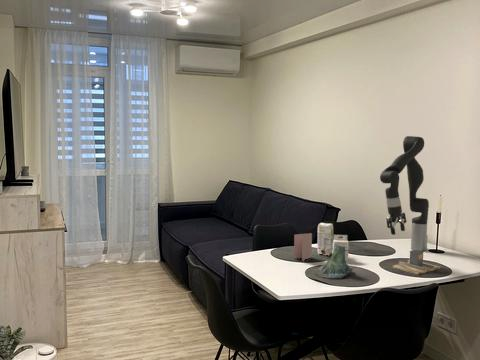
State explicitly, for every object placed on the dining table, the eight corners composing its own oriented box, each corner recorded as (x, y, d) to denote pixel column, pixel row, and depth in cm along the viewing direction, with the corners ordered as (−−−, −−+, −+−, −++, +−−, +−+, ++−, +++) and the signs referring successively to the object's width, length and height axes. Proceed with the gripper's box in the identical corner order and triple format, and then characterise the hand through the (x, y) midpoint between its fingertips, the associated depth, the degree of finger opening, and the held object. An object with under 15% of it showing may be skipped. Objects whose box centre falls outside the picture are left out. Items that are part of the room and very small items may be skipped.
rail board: (415, 261, 268) (415, 257, 268) (440, 268, 255) (440, 264, 254) (392, 267, 257) (392, 263, 257) (417, 274, 244) (417, 270, 244)
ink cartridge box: (333, 261, 270) (333, 236, 269) (332, 258, 275) (333, 234, 274) (348, 261, 270) (348, 236, 268) (347, 259, 274) (347, 234, 273)
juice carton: (329, 256, 281) (329, 225, 279) (316, 254, 285) (316, 224, 283) (333, 253, 287) (334, 223, 285) (320, 251, 291) (321, 222, 290)
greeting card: (310, 257, 278) (311, 233, 277) (316, 260, 271) (317, 235, 270) (293, 259, 275) (293, 234, 273) (298, 262, 268) (299, 236, 266)
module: (415, 264, 259) (415, 249, 258) (423, 266, 255) (423, 251, 254) (409, 265, 257) (410, 250, 256) (417, 268, 252) (417, 252, 252)
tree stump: (306, 272, 250) (313, 239, 251) (336, 276, 258) (342, 244, 259) (326, 280, 234) (333, 245, 235) (357, 284, 242) (364, 250, 243)
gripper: (391, 208, 258) (395, 236, 259) (407, 202, 266) (411, 230, 267) (380, 207, 265) (385, 235, 266) (396, 202, 272) (400, 229, 273)
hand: (398, 232), depth 266 cm, fingers open, 8 cm apart
